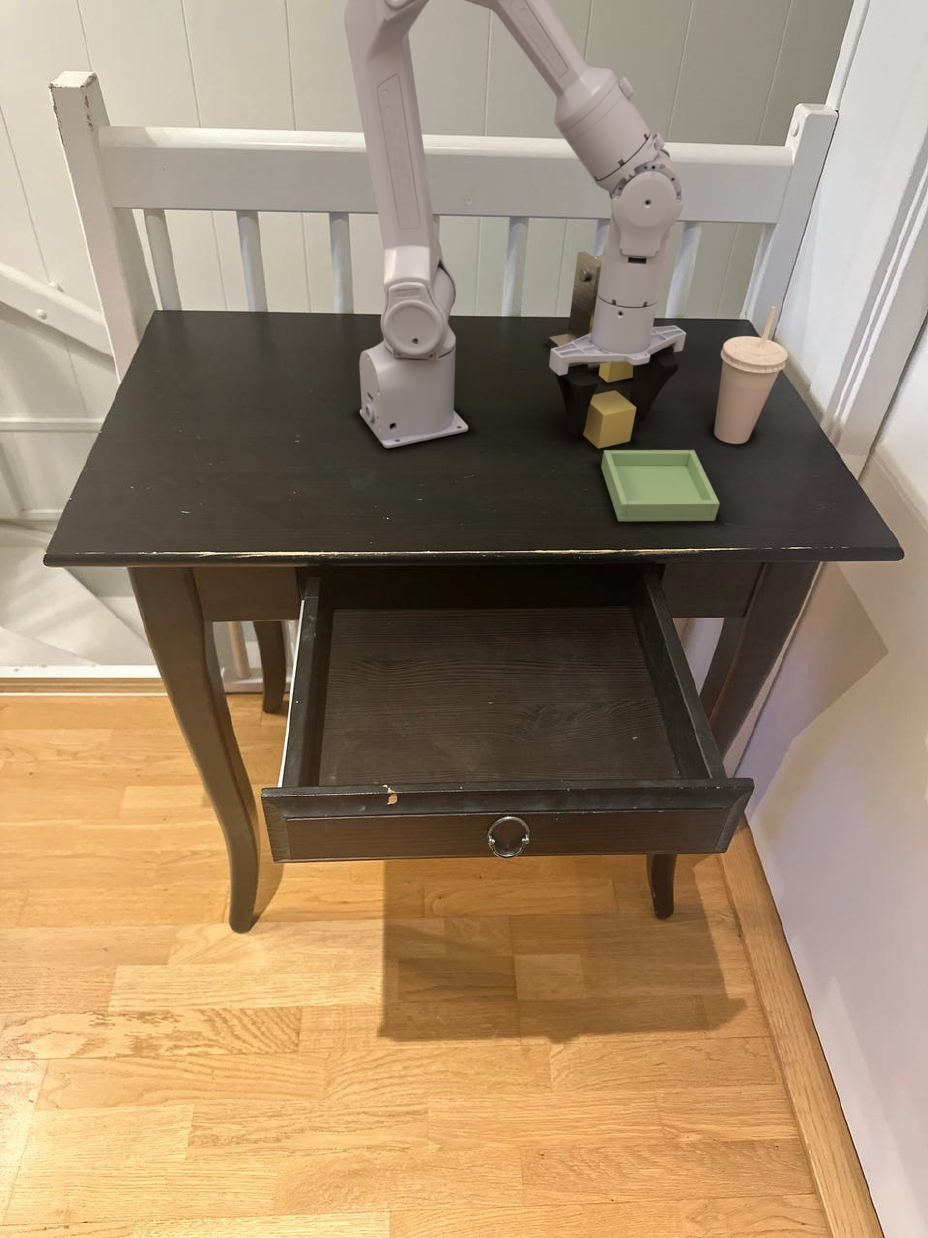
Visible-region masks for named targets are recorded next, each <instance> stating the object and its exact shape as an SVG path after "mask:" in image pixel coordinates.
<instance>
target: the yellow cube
mask: <svg viewBox="0 0 928 1238" xmlns="http://www.w3.org/2000/svg"><path fill="white" fill-rule="evenodd" d="M635 412H636V407H635V406H634V405H633V404H631V403H630V402H629V400H628V399H627V398H626V397H624V396H623V395H622V394H621V393H620V392H618V391H617V390H610V391H605V392H601V393H596V394H595V393H594V395H593V397H592V400H591V403H590V406H589V410H588V415H587V421H586V427H585V430H584V433H583V435H582V436H584V437H585V438H586V439H587V440H588V441H589V442H590V444H592V445H593V446H594V447H595V448H596V449H597V450H598V449H604V448H607V447H613V446H616V445H620V444H624V443H628V442H631V437H632V432H633V427H634V422H635V418H634V417H635Z"/></svg>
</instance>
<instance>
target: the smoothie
mask: <svg viewBox="0 0 928 1238" xmlns="http://www.w3.org/2000/svg"><path fill="white" fill-rule="evenodd" d="M776 312H777V306H773V305H772V306H770V308H769V312H768V315H767V318H766V322H765V325H764V329H763V333H762V336H761V337H759V336H751V335H743V336H736V337H731V338H729V339H727V340H725V342H724V343H723V346H722V349H721V351H720V357H721V359H722V365H721V372H720V373H721V375H720V382H719V389H718V398H717V406H716V413H715V422H714V428H713V434H714V436H715V438H717V440H719V441H722V442H724V443H728V444H731V445H732V444H733V445H739V444H744V443H746V442H747V441H748V440H749V439H750V437H751V435H752V432H753V431H754V428H755V426H756V423H757V422H758V419H759V417H760V415H761V412H762V410H763V408H764V406H765V404H766V401H767V399H768V397H769V395H770V393H771V390H772V388H773V386H774V385H775V382H776V380H777V377H778V375H779V373H780V371H781V370H783V369H784V368H785V367H786V363H787V359H788V357H789V356H788V352H787V350H786V349H785V348H784V347H783V346H782V345H781V344H779V343H777V342H776V341H773V340H770V339H769V335H770V332H771V329H772V325H773V322H774V318H775V316H776Z"/></svg>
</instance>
